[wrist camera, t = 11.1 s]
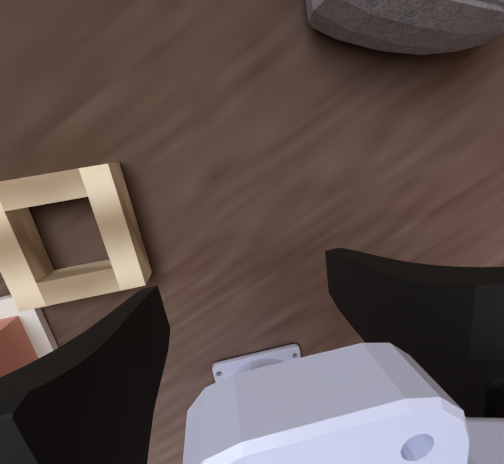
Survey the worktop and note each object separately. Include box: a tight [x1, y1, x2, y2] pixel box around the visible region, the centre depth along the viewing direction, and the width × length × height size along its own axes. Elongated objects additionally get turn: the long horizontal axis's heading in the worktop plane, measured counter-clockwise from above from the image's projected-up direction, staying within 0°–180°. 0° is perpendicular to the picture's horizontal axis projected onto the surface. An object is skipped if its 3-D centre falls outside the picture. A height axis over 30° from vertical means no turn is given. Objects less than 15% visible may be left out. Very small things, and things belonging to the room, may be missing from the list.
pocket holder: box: [0, 162, 152, 312], centre depth 19 cm, size 8×8×2 cm
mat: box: [0, 295, 58, 358], centre depth 21 cm, size 7×6×1 cm
